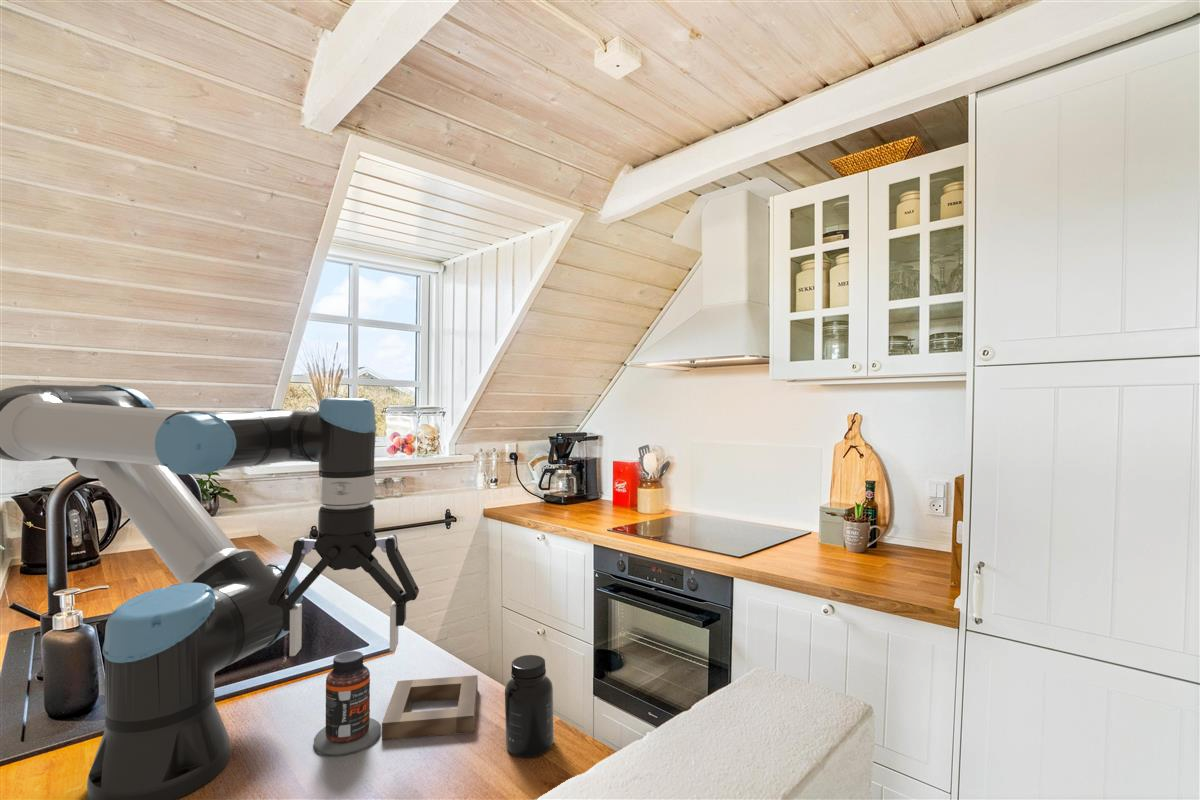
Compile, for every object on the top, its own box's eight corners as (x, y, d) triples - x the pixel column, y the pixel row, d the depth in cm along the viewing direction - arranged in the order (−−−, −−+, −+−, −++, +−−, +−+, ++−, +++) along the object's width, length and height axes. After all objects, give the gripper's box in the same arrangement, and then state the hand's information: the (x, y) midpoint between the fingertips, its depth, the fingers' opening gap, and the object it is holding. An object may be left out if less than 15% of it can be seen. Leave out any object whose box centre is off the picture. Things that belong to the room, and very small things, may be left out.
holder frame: (381, 740, 87) (381, 723, 87) (397, 695, 100) (397, 680, 100) (473, 732, 89) (473, 715, 89) (477, 689, 102) (477, 675, 102)
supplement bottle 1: (354, 747, 84) (353, 667, 84) (316, 742, 85) (315, 663, 85) (378, 724, 90) (377, 649, 90) (342, 720, 91) (342, 646, 91)
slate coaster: (305, 758, 83) (305, 754, 83) (324, 723, 91) (324, 719, 91) (373, 752, 84) (373, 748, 84) (386, 718, 93) (386, 714, 93)
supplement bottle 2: (533, 726, 91) (533, 647, 91) (563, 745, 86) (563, 661, 86) (495, 745, 86) (495, 661, 86) (524, 766, 81) (524, 677, 81)
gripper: (243, 510, 82) (241, 665, 82) (432, 507, 86) (430, 656, 86) (264, 500, 89) (263, 643, 89) (438, 498, 93) (436, 635, 93)
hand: (345, 649), depth 88 cm, fingers open, 13 cm apart
